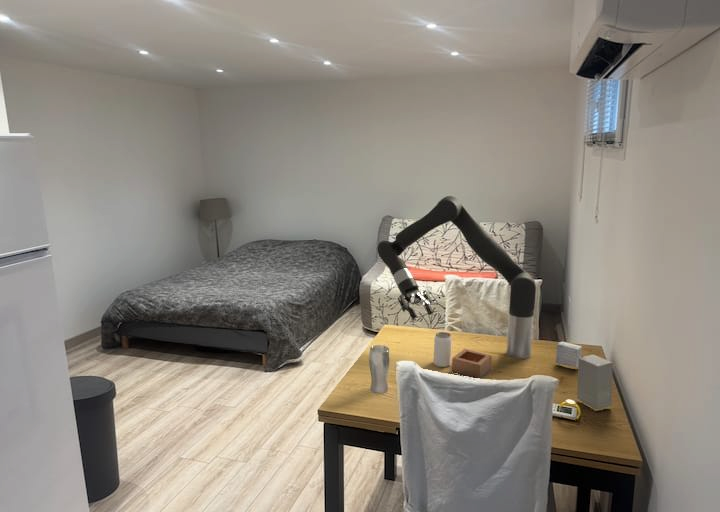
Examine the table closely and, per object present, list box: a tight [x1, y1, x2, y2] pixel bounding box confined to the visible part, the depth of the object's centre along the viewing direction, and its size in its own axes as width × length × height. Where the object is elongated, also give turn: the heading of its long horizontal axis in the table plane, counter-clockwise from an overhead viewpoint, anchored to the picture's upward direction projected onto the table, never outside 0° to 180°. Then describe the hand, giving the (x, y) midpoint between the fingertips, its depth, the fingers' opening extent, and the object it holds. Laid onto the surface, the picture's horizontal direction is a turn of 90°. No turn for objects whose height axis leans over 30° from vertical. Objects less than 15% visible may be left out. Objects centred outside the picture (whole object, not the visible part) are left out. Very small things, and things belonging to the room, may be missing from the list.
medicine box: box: [555, 341, 583, 367], centre depth 190 cm, size 8×4×9 cm, turn 47°
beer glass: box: [368, 344, 391, 395], centre depth 171 cm, size 7×7×15 cm
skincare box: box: [577, 354, 614, 409], centre depth 160 cm, size 8×7×16 cm
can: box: [433, 331, 453, 368], centre depth 192 cm, size 6×6×12 cm
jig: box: [451, 348, 493, 379], centre depth 186 cm, size 11×11×6 cm
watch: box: [558, 398, 581, 420], centre depth 153 cm, size 6×3×6 cm, turn 62°
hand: (423, 315), depth 199 cm, fingers open, 8 cm apart
